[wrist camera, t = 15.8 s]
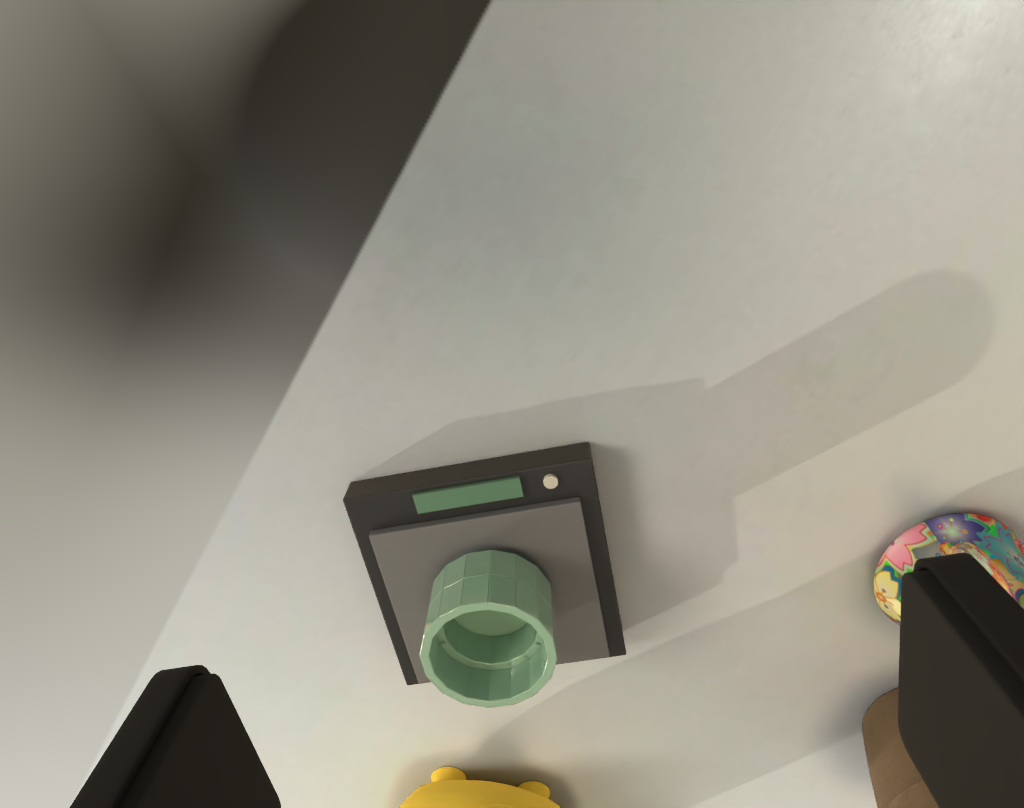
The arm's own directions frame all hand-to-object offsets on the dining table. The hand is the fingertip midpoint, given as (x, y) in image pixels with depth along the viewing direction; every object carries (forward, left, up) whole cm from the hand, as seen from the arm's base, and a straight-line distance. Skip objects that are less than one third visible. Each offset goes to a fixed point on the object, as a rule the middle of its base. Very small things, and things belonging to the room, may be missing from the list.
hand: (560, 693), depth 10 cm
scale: (+18, -6, -28) cm, 34 cm away
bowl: (+18, -6, -26) cm, 32 cm away
